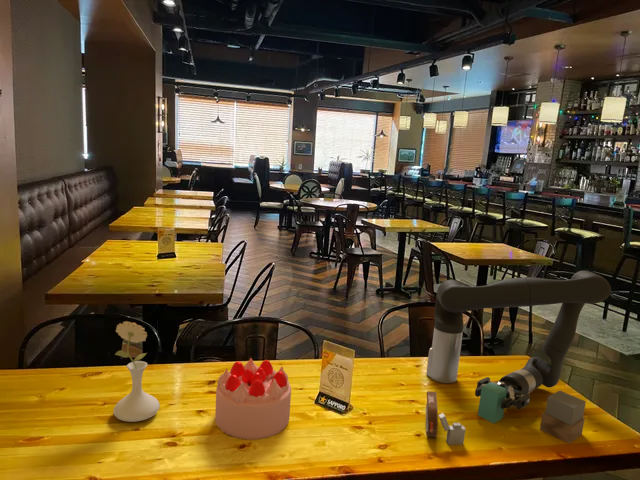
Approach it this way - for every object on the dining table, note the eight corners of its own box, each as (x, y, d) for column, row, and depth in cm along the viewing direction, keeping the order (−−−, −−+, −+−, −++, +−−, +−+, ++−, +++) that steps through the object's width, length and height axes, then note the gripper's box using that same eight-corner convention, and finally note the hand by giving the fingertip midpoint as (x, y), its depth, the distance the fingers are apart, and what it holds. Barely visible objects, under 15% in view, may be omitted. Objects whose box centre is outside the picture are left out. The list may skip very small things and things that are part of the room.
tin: (436, 444, 118) (440, 413, 117) (424, 441, 119) (427, 411, 117) (434, 414, 133) (438, 386, 131) (423, 412, 133) (426, 384, 132)
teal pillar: (477, 415, 134) (481, 386, 132) (487, 410, 137) (490, 382, 135) (493, 423, 130) (498, 393, 128) (502, 418, 133) (507, 389, 132)
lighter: (460, 440, 121) (464, 412, 119) (463, 444, 119) (467, 416, 117) (434, 441, 120) (438, 412, 118) (437, 445, 118) (440, 416, 116)
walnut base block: (539, 430, 129) (542, 413, 128) (552, 421, 134) (555, 405, 133) (569, 444, 123) (572, 427, 122) (581, 434, 128) (584, 418, 127)
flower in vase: (168, 410, 125) (170, 322, 121) (136, 431, 115) (136, 335, 110) (133, 397, 130) (133, 312, 126) (98, 416, 120) (97, 324, 116)
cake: (217, 444, 112) (219, 390, 109) (213, 402, 131) (214, 354, 128) (296, 436, 117) (299, 384, 115) (281, 397, 136) (284, 351, 134)
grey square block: (545, 413, 128) (547, 396, 127) (557, 406, 132) (559, 390, 131) (571, 425, 123) (574, 408, 122) (582, 418, 127) (585, 401, 126)
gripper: (497, 364, 146) (468, 377, 136) (542, 382, 135) (515, 398, 125) (494, 386, 147) (465, 400, 137) (539, 406, 137) (511, 423, 126)
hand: (489, 399), depth 131 cm, fingers open, 7 cm apart
